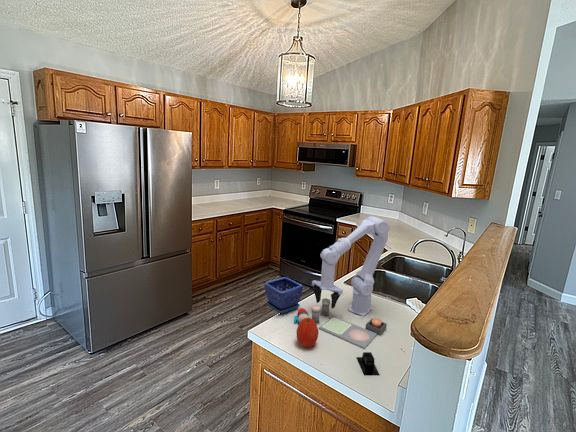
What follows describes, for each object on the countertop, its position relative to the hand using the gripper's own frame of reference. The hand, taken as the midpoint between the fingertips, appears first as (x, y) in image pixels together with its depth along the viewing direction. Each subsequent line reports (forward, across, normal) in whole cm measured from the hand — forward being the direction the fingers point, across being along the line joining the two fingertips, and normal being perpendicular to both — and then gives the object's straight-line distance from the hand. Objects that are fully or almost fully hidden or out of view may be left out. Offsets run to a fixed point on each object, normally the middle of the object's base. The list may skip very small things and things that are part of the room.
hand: (325, 304), depth 136 cm
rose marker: (+5, 0, -8) cm, 9 cm away
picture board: (+5, +14, -5) cm, 16 cm away
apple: (+5, +6, -23) cm, 24 cm away
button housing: (+5, +22, +4) cm, 23 cm away
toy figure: (+5, -2, -13) cm, 14 cm away
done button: (+3, +22, +4) cm, 23 cm away
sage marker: (+5, 0, 0) cm, 5 cm away
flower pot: (+5, -18, -8) cm, 20 cm away
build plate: (+6, +29, -19) cm, 35 cm away
